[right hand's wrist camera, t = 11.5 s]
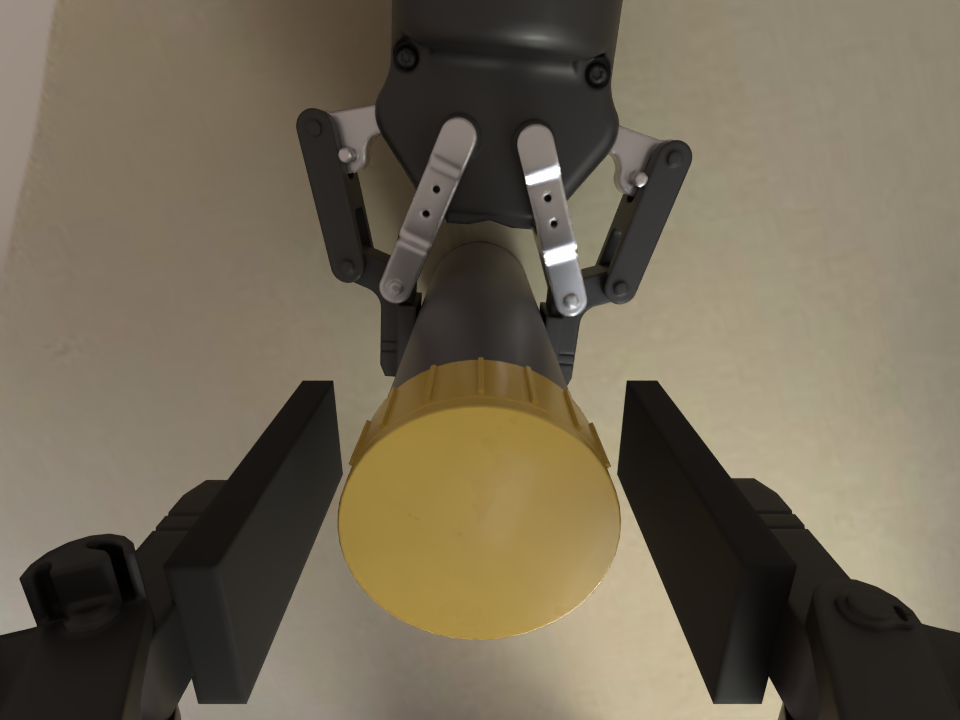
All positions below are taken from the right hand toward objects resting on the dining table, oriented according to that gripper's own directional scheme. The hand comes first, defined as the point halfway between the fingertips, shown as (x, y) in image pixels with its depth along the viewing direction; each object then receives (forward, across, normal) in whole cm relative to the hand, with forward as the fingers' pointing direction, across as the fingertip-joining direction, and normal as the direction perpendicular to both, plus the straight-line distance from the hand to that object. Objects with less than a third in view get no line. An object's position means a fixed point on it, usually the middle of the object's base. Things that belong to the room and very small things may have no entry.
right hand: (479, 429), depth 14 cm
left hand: (+9, 0, -3) cm, 9 cm away
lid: (-4, 0, 0) cm, 4 cm away
